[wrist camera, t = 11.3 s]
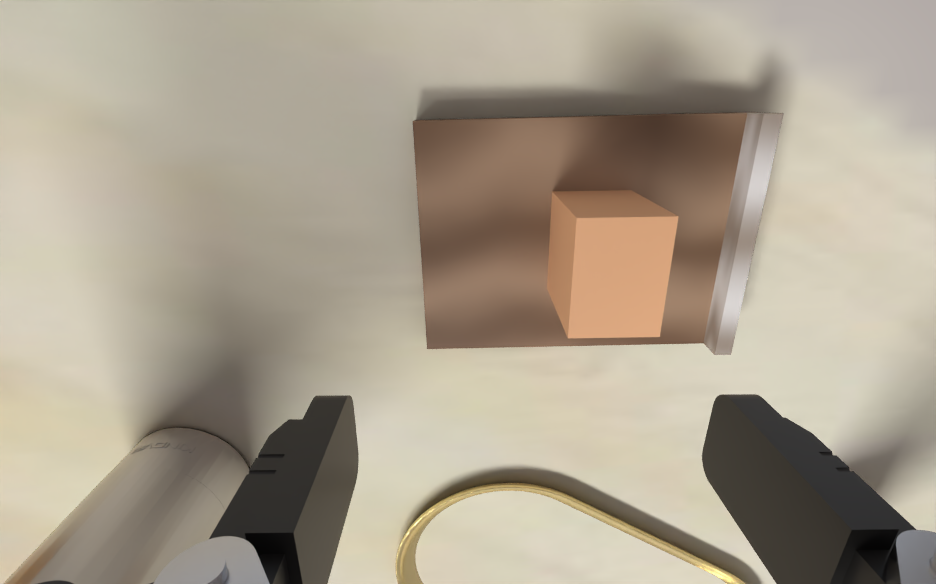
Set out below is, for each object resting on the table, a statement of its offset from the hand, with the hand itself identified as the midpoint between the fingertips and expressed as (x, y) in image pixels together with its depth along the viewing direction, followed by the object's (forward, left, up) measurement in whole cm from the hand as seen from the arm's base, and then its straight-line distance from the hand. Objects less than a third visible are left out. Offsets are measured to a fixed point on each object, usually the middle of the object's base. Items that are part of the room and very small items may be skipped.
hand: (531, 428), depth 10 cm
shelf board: (-1, -5, -20) cm, 21 cm away
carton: (-1, -6, -18) cm, 19 cm away
